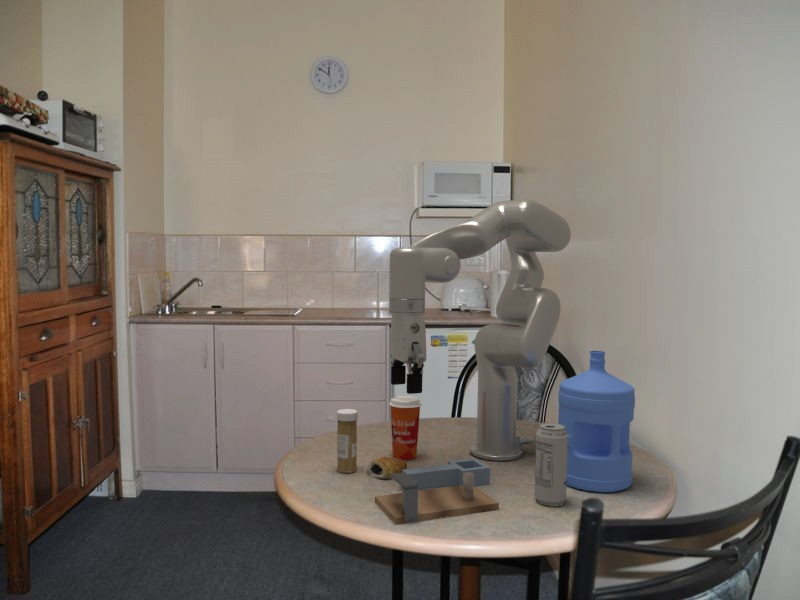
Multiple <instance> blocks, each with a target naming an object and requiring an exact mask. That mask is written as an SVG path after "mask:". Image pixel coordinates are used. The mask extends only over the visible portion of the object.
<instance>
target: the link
mask: <svg viewBox="0 0 800 600" xmlns="http://www.w3.org/2000/svg"><path fill="white" fill-rule="evenodd" d="M465 472H471V473H473V474H474V482H473V485H474V486H475V487H476V486H477V487H478V486H485V485H490V484H491V467H490V466H488V465H486V464H485V463H483V462H482V461H480V460H478V459H477V458H469V459H460V460H459V459H457V460H448V461H447V464H441V465H432V466H423V467H415V468H407V469H404V470H402V473H405V474H407V475H408V476H409V477H410V478H412V479H413V480H414V481H415V482H416V483H418V491H420V490H428V489H435V488H443V487H451V486H459V485H463V473H465Z"/></svg>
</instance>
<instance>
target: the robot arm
mask: <svg viewBox="0 0 800 600" xmlns="http://www.w3.org/2000/svg"><path fill="white" fill-rule="evenodd" d="M571 237H572V232H571V228H570V226H569V224H568V222H567V221H566V219H565V218H564V217H563V216H561V215H560V214H558V213H557V212H555V211H554V210H551V209H550V208H548V207H547V206H545V205H543V204H542V203H540V202H538V201H535V200H533V199H527V198H526V199H514V200H513V199H512V200H500V201H497V202H495V203H492V204H490V205H489V206H488V207H486V208H484V209H483V210H481V211H480V212H478V213H477V214H475V215H474V216H472V217H471V218H469V219H467V220H466V221H464V222H461V223H458V224H456V225H453V226H451V227H448V228H446V229H443V230H441V231H438V232H435V233H433V234H430V235H428V236H426V237H424V238H422V239H420V240H418V241H417V242H415V243H413V244H412V245H410V246H409V247H396V248H393V249H392V250H391V251H390V253H389V269H388V270H389V276H388V277H389V280H388V282H389V289H388V314H389V315H391V322H390V337H389V338H390V339H389V350H390V351H389V352H390V353H389V354H390V357H391V360H390V384H391V385H392V386H395V385H398V386H399V385H405V384H406V393H407V394H409V395H412V394H415V395H416V394H422V393H423V375H424V367H425V364H424V363H425V362H426V361H427V333H426V332H427V331H426V323H425V322H426V321H425V315H426V283H434V284H445V283H448V282H452V281H453V280H455V279H456V278H457V276H458V275H459V273H460V271H461V265H462V263H461V260H465V259H471V258H475V257H478V256H482V255H484V254H485V253H487V252H488V251H490V250H491V249H492V248H494V247H495V246H496V245H498V244H500V243H501V242H503V241H504V240H505V242H506V245H507V249H508V252H509V253H508V254H509V256H510V261H511V263H510V264H511V265H510V266H511V267H510V271H509V274H508V277H507V279H506V281H505V284H504V286H503V289H502V290H501V293H500V295H499V298H498V300H497V303H496V307H495V314H496V317H497V318H498V319H499V320H500V321H501V323H502V322H503V323H505V324H499V323H498V324H497V323H494V324H493V323H492V324H487V325H484V326H482V327H481V328H480V329H479V330H478V331H477V332H476V334H475V337H474V352H475V358H476V364H477V403H476V405H477V406H476V407H477V410H476V413H477V414H476V443H473V444H472V445H471V446H470V448H469V452H470V454H471V455H472V456H474V457H476V458H479V459H482V460H486V461H487V460H488V461H496V462H497V461H498V462H501V461H502V462H504V461H514V460H518V459H520V458H521V457H522V456H523V450H522V448H521V447H523V445H533V444H534V438H533V436H532V435H529V436H527V435H526V436H523V435H522V434H521V435H519V434H517V419H518V418H517V413H518V412H517V411H518V409H517V408H518V380H517V375H516V373H515V371H514V367H515V368H521V369H529V370H530V369H534V368H536V367H538V366H539V365H540V364H541V363H542V362H543V360H544V358H545V356H546V354H547V351H548V349H549V346H550V344H551V341H552V339H553V336H554V333H555V331H556V329H557V327H558V324H559V321H560V318H561V317H560V316H561V310H562V309H561V300H560V297H559V296H558V294H557V292H555V291H553V290H552V289H549V288H546V287H542V285H543V281H544V278H545V271H544V268H543V265H542V263H541V261H540V260H539V257H538V255H537V253H557V252H561V251H563V250H564V249H566V248H567V246H568V245H569V243H570V241H571ZM405 364H406V365H405ZM406 370H407V371H406ZM407 372H408V373H407Z"/></svg>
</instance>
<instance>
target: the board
mask: <svg viewBox="0 0 800 600" xmlns="http://www.w3.org/2000/svg"><path fill="white" fill-rule="evenodd" d="M473 482H474V474H473V473H471V472H465V473H463V485H452V486H444V487H436V488H429V489H421V490H418V521H417V522H420V521H427V520H426V519H429V520H434V518H436V519H441V518H440V517H442V518H447V517H446V516H449V517H454V516H453V515H456V516H461V515H460V514H463V515H467V514H468V513H469V514H476V513H482V511H483V512H487V511H488V512H489V511H496V510H500V502H499V501H497V500H496V499H494V498H493V497H491V496H489V495H488V494H487V493H485V492H484V491H483V490H481V489H479V488H478V486H477V487H476V486H474V485H473ZM374 503H375V505H376V506H377V507H378V508H379V509H380V510H381V511H382V512H383V513H384V514H385V515H386V516H387V517H388V518H389V519H390V520H391V522H392V523H394V524H395V525H400V524H406V523H405V516H404V515H403V514H402V492H398V493H397V492H396V493H389V494H383V495H374ZM475 512H476V513H475Z"/></svg>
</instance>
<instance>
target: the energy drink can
mask: <svg viewBox="0 0 800 600" xmlns="http://www.w3.org/2000/svg"><path fill="white" fill-rule="evenodd" d="M535 436H536V437H535V465H534V498H536V502H537V503H539V504H540V505H542V504H543V506H546V505H548V506H547V507H557V506H556V505H560V506H562V505H563V504H564V502H565V501H566V499H567V485H566V482H567V450H568V435H567V433H566V431H565V426H563V425H561V424H558V423H556V422H555V423H554V422H543V423H540V424H539V428H538V429H537V432H536V433H535ZM562 503H563V504H562ZM561 504H562V505H561Z"/></svg>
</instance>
